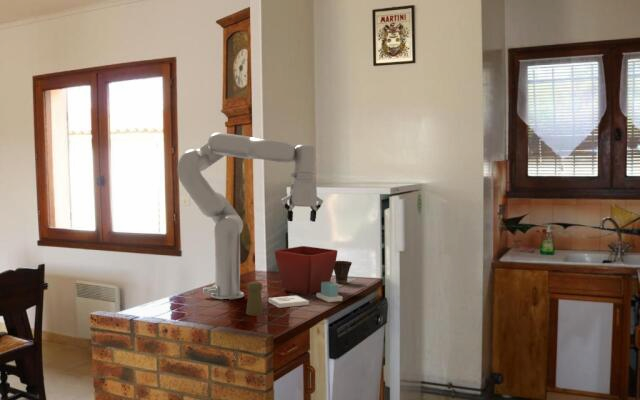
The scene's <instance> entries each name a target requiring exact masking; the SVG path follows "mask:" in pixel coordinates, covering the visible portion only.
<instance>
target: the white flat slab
mask: <svg viewBox="0 0 640 400" xmlns="http://www.w3.org/2000/svg"><path fill="white" fill-rule="evenodd" d="M268 303H269V304H271V305H274V306H276V307H277V308H279V309H280V308H289V307H291V308H292V307H298V306H299V307H300V306H301V307H302V306H309V305H310V301H309V300H308V299H306V298H304V297H302V296H300V295H298V294H296V295H287V296H277V297H268Z"/></svg>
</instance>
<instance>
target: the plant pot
mask: <svg viewBox="0 0 640 400" xmlns="http://www.w3.org/2000/svg"><path fill="white" fill-rule="evenodd" d="M274 255H275V261H276V266H277V270H278V273H279V276H280V280H281V284H282V286H283V288H284V290H285V291H286V292H290V293H291V292H292V293H294V294H295V293H296V294H301V295H302V294H303V295H313V294H317V293H321V282H329V281H330V282H331V279H332V277H333V273H334V267H335V262H336V261H337V258H338V250H336V249H329V248H323V247H322V248H321V247H313V246H305V245H304V246H303V245H301V246H295V247H294V246H293V247H288V248H282V249H276V250H274Z"/></svg>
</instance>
